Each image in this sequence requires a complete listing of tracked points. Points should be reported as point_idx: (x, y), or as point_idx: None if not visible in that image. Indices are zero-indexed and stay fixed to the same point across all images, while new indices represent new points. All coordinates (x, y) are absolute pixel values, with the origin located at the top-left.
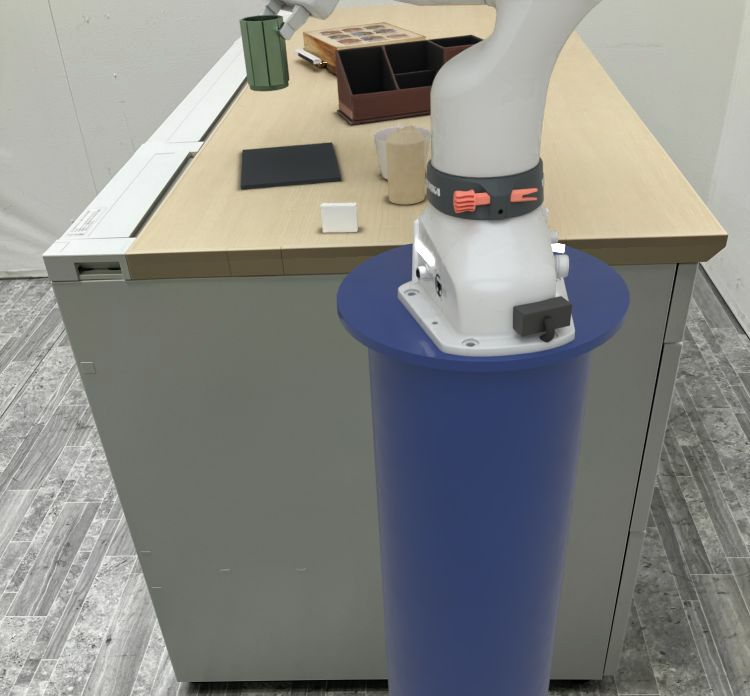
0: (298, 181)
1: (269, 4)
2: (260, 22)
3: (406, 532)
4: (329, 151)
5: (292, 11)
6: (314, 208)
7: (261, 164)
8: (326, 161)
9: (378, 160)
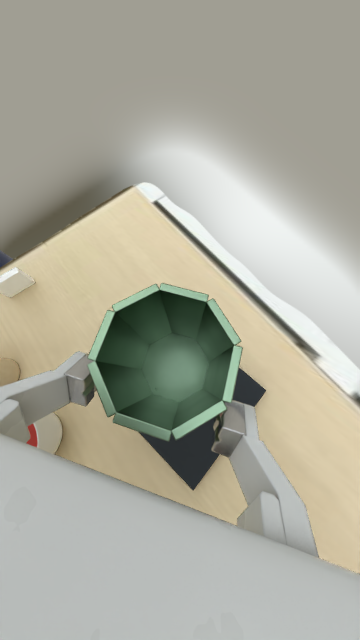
0: None
1: (259, 506)
2: (115, 304)
3: None
4: (165, 450)
5: (16, 401)
6: (70, 310)
7: None
8: None
9: (48, 416)
